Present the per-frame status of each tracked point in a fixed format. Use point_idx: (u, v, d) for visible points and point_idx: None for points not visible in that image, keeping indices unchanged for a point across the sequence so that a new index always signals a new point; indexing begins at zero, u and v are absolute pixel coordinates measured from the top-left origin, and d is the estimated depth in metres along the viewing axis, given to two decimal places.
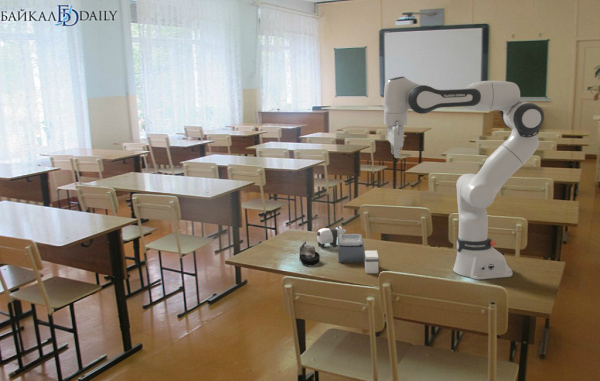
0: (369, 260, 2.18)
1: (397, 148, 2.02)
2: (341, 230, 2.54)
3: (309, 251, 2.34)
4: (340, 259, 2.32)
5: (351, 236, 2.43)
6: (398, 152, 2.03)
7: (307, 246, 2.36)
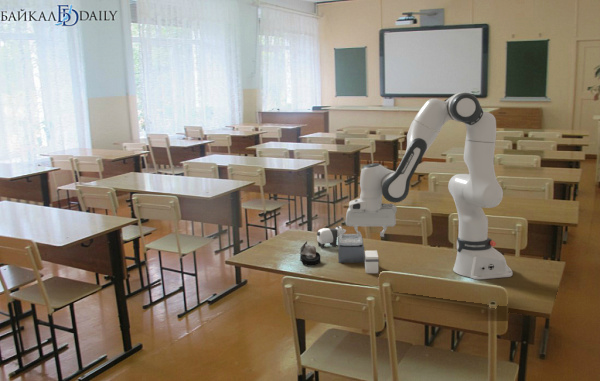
0: (369, 260, 2.18)
1: (386, 227, 2.19)
2: (341, 230, 2.54)
3: (310, 251, 2.34)
4: (340, 259, 2.32)
5: (351, 236, 2.43)
6: None
7: (308, 246, 2.36)
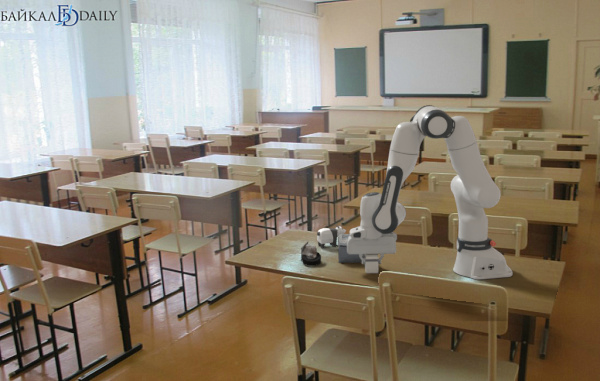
0: (369, 260, 2.18)
1: (383, 254, 2.22)
2: (341, 230, 2.54)
3: (311, 251, 2.34)
4: (340, 259, 2.32)
5: None
6: None
7: (309, 246, 2.35)
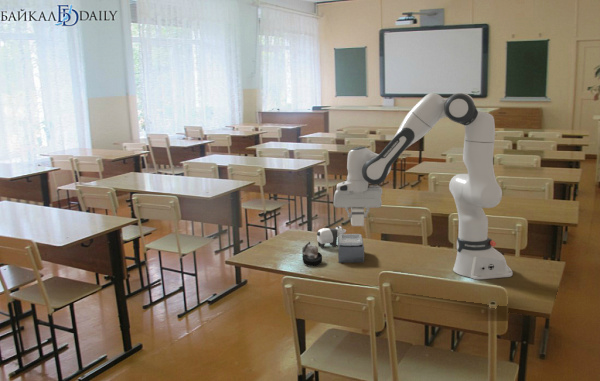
0: (355, 213, 2.24)
1: (369, 208, 2.27)
2: (341, 230, 2.54)
3: (312, 252, 2.34)
4: (340, 259, 2.32)
5: (351, 236, 2.43)
6: None
7: (310, 246, 2.35)
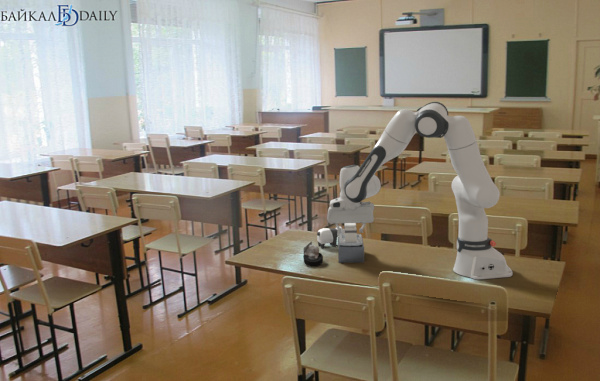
0: (348, 231, 2.33)
1: None
2: (341, 230, 2.54)
3: (313, 252, 2.33)
4: (340, 259, 2.32)
5: None
6: None
7: (311, 247, 2.35)
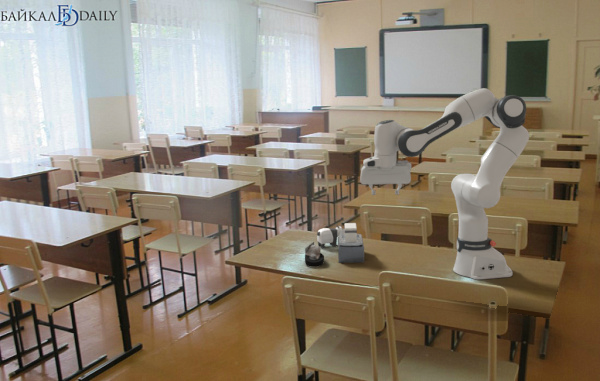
0: (348, 231, 2.33)
1: (401, 185, 2.18)
2: (341, 230, 2.54)
3: (314, 252, 2.33)
4: (340, 259, 2.32)
5: None
6: None
7: (313, 247, 2.34)
